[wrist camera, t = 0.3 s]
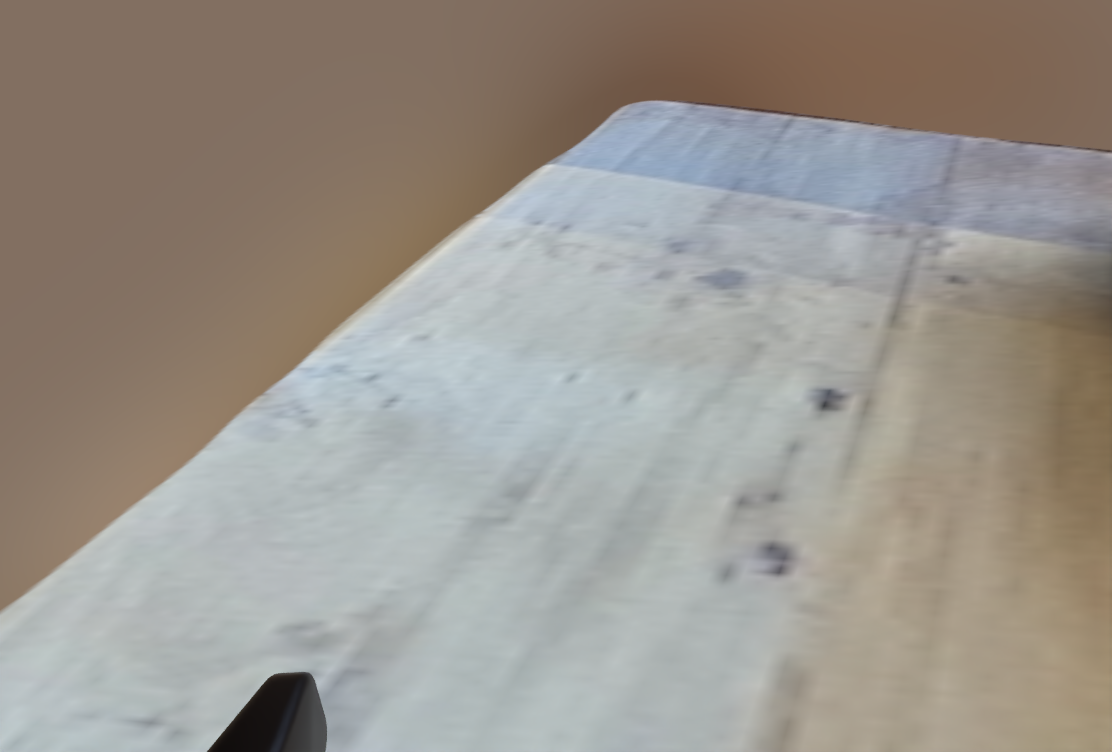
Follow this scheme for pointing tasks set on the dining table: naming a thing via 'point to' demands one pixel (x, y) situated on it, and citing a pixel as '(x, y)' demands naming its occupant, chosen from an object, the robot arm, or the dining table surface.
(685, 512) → the dining table surface
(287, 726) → the robot arm
